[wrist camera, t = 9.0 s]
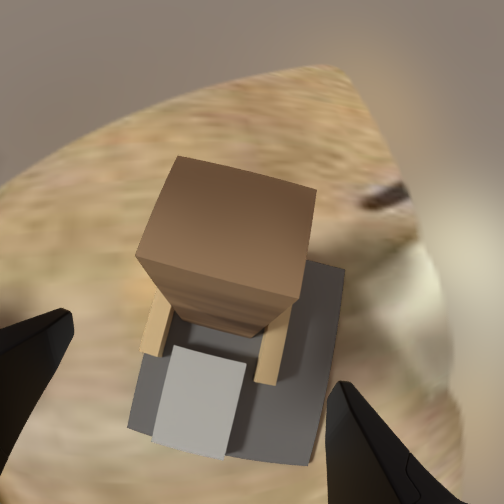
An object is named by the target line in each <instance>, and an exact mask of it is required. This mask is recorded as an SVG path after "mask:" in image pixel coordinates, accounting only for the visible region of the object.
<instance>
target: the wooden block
mask: <svg viewBox="0 0 504 504" xmlns="http://www.w3.org/2000/svg"><path fill="white" fill-rule="evenodd" d="M316 192H317V190H316V189H312V188H309V187H305V186H302V185H298V184H295V183H291V182H287V181H284V180H280V179H276V178H273V177H269V176H265V175H261V174H257V173H253V172H249V171H245V170H241V169H237V168H232V167H228V166H224V165H219V164H215V163H210V162H206V161H201V160H196V159H192V158H187V157H182V156H177V158H176V160H175V162H174V164H173V166H172V168H171V171H170V173H169V175H168V177H167V179H166V181H165V184H164V186H163V188H162V190H161V193H160V195H159V197H158V199H157V202H156V204H155V206H154V209H153V211H152V214H151V216H150V218H149V221H148V223H147V226H146V228H145V231H144V233H143V236H142V238H141V241H140V243H139V246H138V249H137V251H136V254H135V256H136V258H137V259H138V261H139V262H140V264H141V265H142V266H143V268H144V269H145V271H146V272H147V274H148V275H149V276H150V278H151V279H152V281H153V282H154V283H155V285H156V286H157V287H158V289H159V290H160V291H161V293H162V294H163V295H164V297H165V298H166V299H167V301H168V302H169V303H170V305H171V306H172V307H173V309H174V310H175V311H176V313H177V314H178V315H179V316H180V318H181V319H182V320H183V321H185V322H189V323H192V324H196V325H199V326H203V327H207V328H210V329H214V330H218V331H222V332H226V333H230V334H234V335H238V336H242V337H246V338H252V337H253V336H254V335H255V334H257V333H258V332H259V331H260V330H262V329H263V328H264V327H265V326H267V325H268V324H269V323H270V322H272V321H273V320H274V319H275V318H277V317H278V316H279V315H280V314H281V313H283V312H284V311H285V310H286V309H287V308H289V307H290V306H291V305H292V304H293V303H295V302H296V301H297V300H298V299H299V297H300V291H301V286H302V280H303V275H304V269H305V263H306V257H307V251H308V245H309V239H310V232H311V226H312V219H313V213H314V206H315V199H316Z"/></svg>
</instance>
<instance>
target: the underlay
mask: <svg viewBox="0 0 504 504" xmlns="http://www.w3.org/2000/svg"><path fill="white" fill-rule="evenodd" d="M344 274H345V269H341V268H337V267H333V266H329V265H325V264H321V263H317V262H313V261H309V260H306V263H305V269H304V275H303V280H302V286H301V291H300V297H299V299H298V300H297V301H296V302H295V303H293V304H292V305H291V306H290V307H289V308H287V309H286V310H285V311H284V312H283V313H281V314H280V315H279V316H278V317H277V318H275V319H274V320H273V321H272V322H270V323H269V324H268V325H267V326H265V327H264V328H263V329H262V330H260V331H259V332H258V333H257V334H255V335H254V336H253V337H252V338H246V337H242V336H238V335H234V334H230V333H226V332H222V331H218V330H214V329H210V328H207V327H203V326H199V325H196V324H192V323H189V322H185V321H183V320H182V319H181V318H180V316H179V315H178V314H177V313H176V311H175V310H174V309H173V307H172V306H171V305H170V303H169V302H168V301H167V299H166V298H165V297H164V295H163V294H162V293H161V291H160V290H159V289H158V287H157V289H156V293H155V296H154V299H153V302H152V306H151V309H150V312H149V316H148V319H147V323H146V326H145V330H144V334H143V337H142V341H141V345H140V348H139V351H140V352H143V353H144V356H143V360H142V364H141V368H140V372H139V376H138V381H137V385H136V389H135V393H134V398H133V402H132V407H131V411H130V416H129V421H128V426H127V428H129V429H132V430H135V431H138V432H140V433H143V434H146V435H149V436H152V440H151V442H154V443H157V444H160V445H164V446H167V447H170V448H174V449H177V450H181V451H185V452H189V453H193V454H197V455H201V456H205V457H210V458H214V459H219V460H224V456H225V455H226V456H231V457H237V458H242V459H248V460H255V461H262V462H270V463H278V464H288V465H300V466H308V463H309V460H310V456H311V452H312V449H313V445H314V441H315V437H316V433H317V429H318V425H319V421H320V416H321V412H322V407H323V403H324V398H325V394H326V389H327V384H328V379H329V374H330V368H331V363H332V357H333V352H334V346H335V340H336V334H337V327H338V320H339V314H340V306H341V299H342V291H343V283H344Z"/></svg>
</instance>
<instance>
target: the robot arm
mask: <svg viewBox="0 0 504 504" xmlns="http://www.w3.org/2000/svg"><path fill="white" fill-rule="evenodd" d="M73 335H74V324H73V317H72V313H71V312H70V311H69V310H66V309H64V308H59V309H56V310H53V311H50V312H47V313H44V314H41V315H39V316H36V317H33V318H30V319H27V320H25V321H22V322H19V323H16V324H13V325H10V326H8V327H5V328H2V329H0V475H1V473H2V471H3V469H4V466H5V464H6V462H7V460H8V457H9V455H10V453H11V451H12V449H13V447H14V445H15V443H16V441H17V439H18V437H19V435H20V433H21V431H22V429H23V427H24V426H25V424H26V422H27V420H28V418H29V416H30V415H31V413H32V411H33V409H34V407H35V406H36V404H37V402H38V400H39V399H40V397H41V395H42V393H43V392H44V390H45V388H46V387H47V385H48V383H49V382H50V380H51V378H52V377H53V375H54V373H55V372H56V370H57V368H58V366H59V364H60V362H61V360H62V358H63V356H64V354H65V352H66V350H67V348H68V346H69V344H70V342H71V340H72V338H73ZM325 448H326V464H327V485H328V504H468V503H465V502H462V501H460V500H459V499H457V498H456V497H455V496H454V495H453V494H451V493H450V492H449V491H448V490H447V489H446V488H445V487H444V486H443V485H442V484H441V483H440V482H438V481H437V480H436V479H435V478H434V477H433V476H432V475H431V474H430V473H429V472H428V471H427V470H426V469H425V468H424V467H423V466H422V465H421V463H420V462H419V461H418V460H417V459H416V458H415V457H414V456H413V454H412V453H409V452H410V451H409V450H408V449H407V448H406V446H405V445H404V444H403V443H402V442H401V441H400V439H399V438H398V437H397V436H396V435H395V434H394V432H393V431H392V430H391V429H390V428H389V427H388V425H387V424H386V423H385V422H384V421H383V419H382V418H381V417H380V416H379V415H378V414H377V412H376V411H375V410H374V409H373V408H372V407H371V405H370V404H369V403H368V402H367V401H366V399H365V398H364V397H363V396H362V395H361V394H360V392H359V391H358V390H357V389H356V388H355V386H354V385H353V384H352V383H351V382H348V381H338V382H337V383H336V385H335V386H334V388H333V390H332V391H331V393H330V395H329V396H328V399H327V413H326V433H325Z"/></svg>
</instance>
